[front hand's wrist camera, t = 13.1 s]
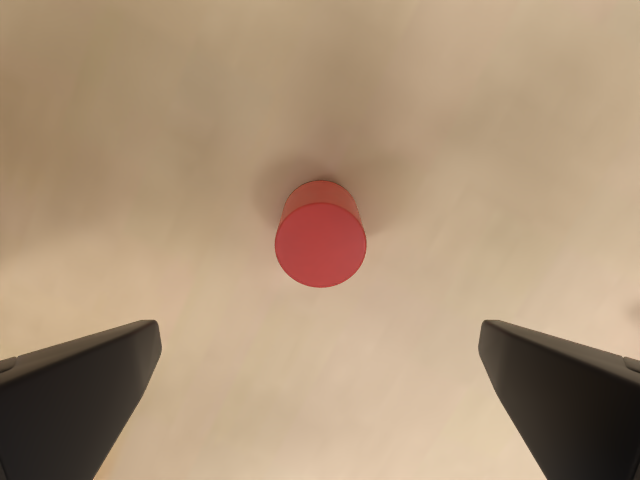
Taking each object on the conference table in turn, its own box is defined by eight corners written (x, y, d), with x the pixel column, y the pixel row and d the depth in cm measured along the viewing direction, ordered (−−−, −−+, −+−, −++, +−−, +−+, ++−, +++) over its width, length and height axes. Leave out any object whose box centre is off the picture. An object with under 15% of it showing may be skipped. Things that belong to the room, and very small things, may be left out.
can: (328, 164, 21) (330, 183, 17) (372, 224, 22) (384, 256, 18) (267, 209, 22) (255, 238, 18) (312, 265, 23) (311, 304, 19)
